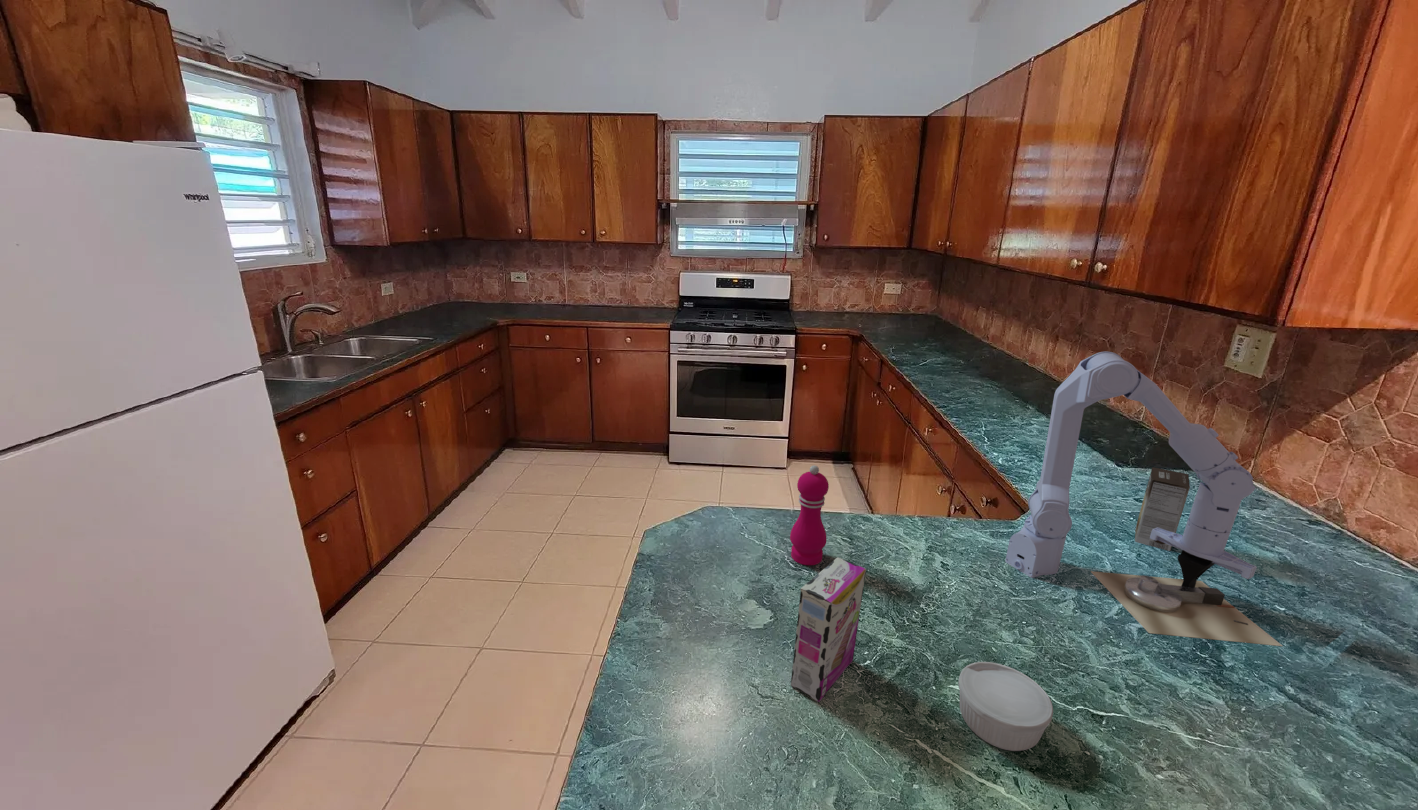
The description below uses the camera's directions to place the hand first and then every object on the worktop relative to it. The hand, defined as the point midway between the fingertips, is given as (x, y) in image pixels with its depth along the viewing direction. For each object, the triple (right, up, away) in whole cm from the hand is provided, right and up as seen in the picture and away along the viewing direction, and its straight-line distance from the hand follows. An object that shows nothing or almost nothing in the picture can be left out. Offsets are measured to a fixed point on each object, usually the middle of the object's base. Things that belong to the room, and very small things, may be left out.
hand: (1186, 591), depth 101 cm
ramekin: (-48, -9, -26) cm, 56 cm away
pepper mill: (-67, +3, +12) cm, 68 cm away
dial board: (-4, -3, -2) cm, 5 cm away
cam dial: (-4, -1, -1) cm, 4 cm away
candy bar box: (-70, -6, -19) cm, 73 cm away
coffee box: (+10, +3, +21) cm, 24 cm away
